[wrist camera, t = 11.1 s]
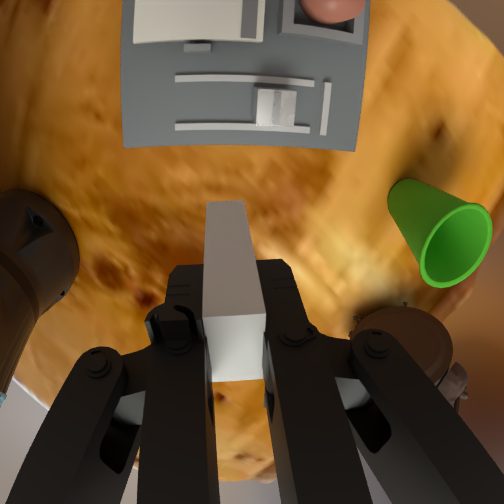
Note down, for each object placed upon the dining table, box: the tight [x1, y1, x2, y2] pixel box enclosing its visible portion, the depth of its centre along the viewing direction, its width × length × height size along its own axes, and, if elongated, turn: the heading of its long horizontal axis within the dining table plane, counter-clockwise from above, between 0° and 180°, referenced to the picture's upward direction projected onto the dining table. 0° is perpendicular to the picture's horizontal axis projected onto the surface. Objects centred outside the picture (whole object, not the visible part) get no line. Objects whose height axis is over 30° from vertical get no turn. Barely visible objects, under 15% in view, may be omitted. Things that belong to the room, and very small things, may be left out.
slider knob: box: [252, 86, 297, 128], centre depth 24 cm, size 3×3×4 cm
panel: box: [121, 0, 370, 152], centre depth 22 cm, size 22×18×4 cm
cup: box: [388, 179, 492, 288], centre depth 29 cm, size 9×9×11 cm
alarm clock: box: [349, 302, 468, 413], centre depth 35 cm, size 14×7×20 cm, turn 101°
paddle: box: [133, 0, 265, 44], centre depth 19 cm, size 10×5×1 cm, turn 87°
